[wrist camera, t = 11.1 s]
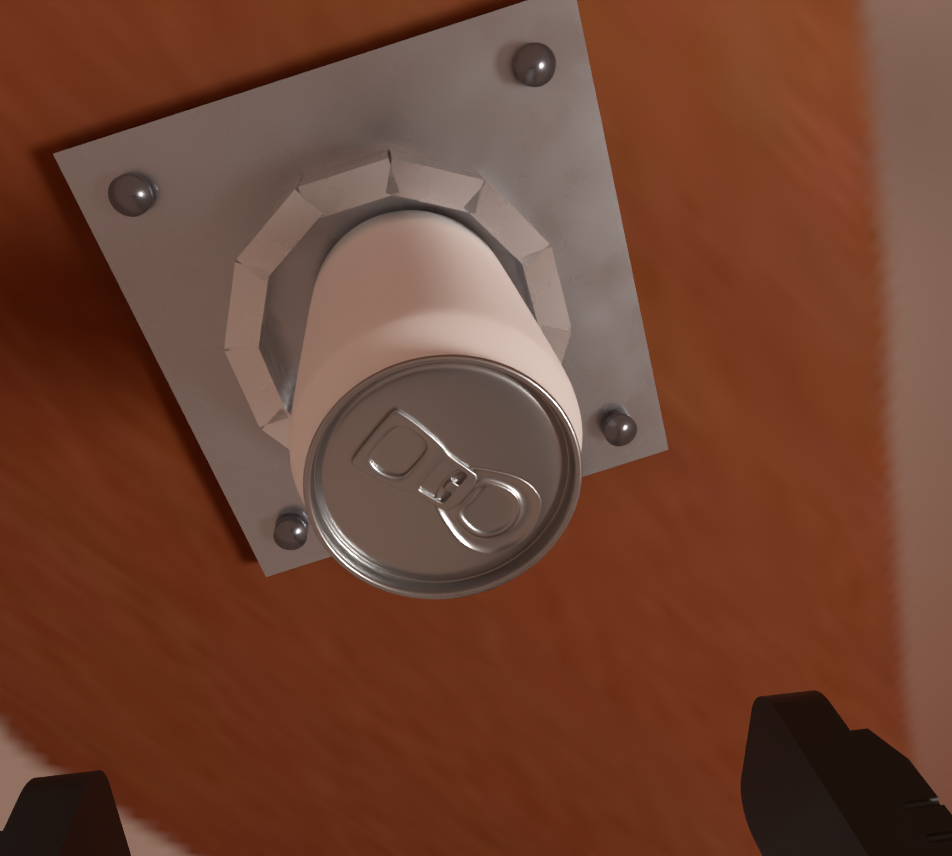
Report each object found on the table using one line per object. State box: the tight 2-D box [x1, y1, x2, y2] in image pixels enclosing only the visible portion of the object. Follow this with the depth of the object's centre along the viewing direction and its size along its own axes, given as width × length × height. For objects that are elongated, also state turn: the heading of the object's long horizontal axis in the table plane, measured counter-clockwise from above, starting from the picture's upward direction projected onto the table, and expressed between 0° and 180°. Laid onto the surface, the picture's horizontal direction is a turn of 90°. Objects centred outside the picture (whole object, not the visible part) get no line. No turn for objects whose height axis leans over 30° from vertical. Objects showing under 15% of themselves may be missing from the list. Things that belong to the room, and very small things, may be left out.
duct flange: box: [53, 0, 668, 577], centre depth 27 cm, size 16×16×3 cm
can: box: [289, 210, 582, 599], centre depth 21 cm, size 6×6×12 cm
